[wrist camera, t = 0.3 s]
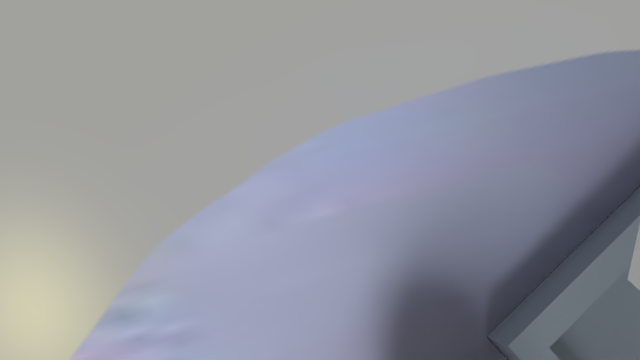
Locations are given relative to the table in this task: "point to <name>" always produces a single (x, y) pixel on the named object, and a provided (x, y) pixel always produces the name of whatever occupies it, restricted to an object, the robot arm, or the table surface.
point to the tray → (582, 301)
